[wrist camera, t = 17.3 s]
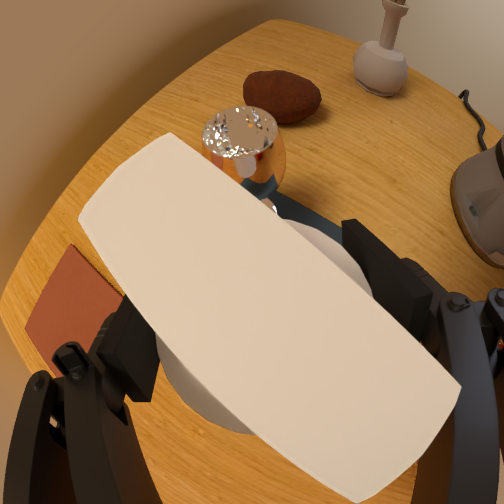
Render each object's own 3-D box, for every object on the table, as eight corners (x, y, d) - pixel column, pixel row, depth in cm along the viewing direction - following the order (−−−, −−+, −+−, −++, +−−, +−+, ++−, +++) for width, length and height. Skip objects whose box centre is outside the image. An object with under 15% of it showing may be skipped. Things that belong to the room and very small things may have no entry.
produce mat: (72, 244, 28) (70, 243, 28) (130, 303, 25) (127, 303, 25) (26, 329, 25) (24, 328, 25) (74, 396, 22) (71, 396, 22)
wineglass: (274, 249, 25) (272, 176, 14) (217, 233, 26) (177, 158, 15) (290, 197, 27) (296, 108, 16) (236, 184, 28) (214, 97, 17)
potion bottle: (400, 108, 31) (435, 10, 14) (344, 87, 33) (361, -17, 16) (402, 81, 33) (427, -3, 16) (353, 63, 35) (367, -24, 18)
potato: (263, 90, 33) (260, 54, 27) (325, 109, 31) (330, 72, 25) (237, 118, 32) (230, 80, 26) (305, 142, 30) (309, 102, 24)
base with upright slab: (370, 324, 15) (518, 281, 4) (269, 430, 14) (254, 570, 2) (266, 231, 18) (250, 70, 6) (167, 329, 16) (11, 294, 5)
